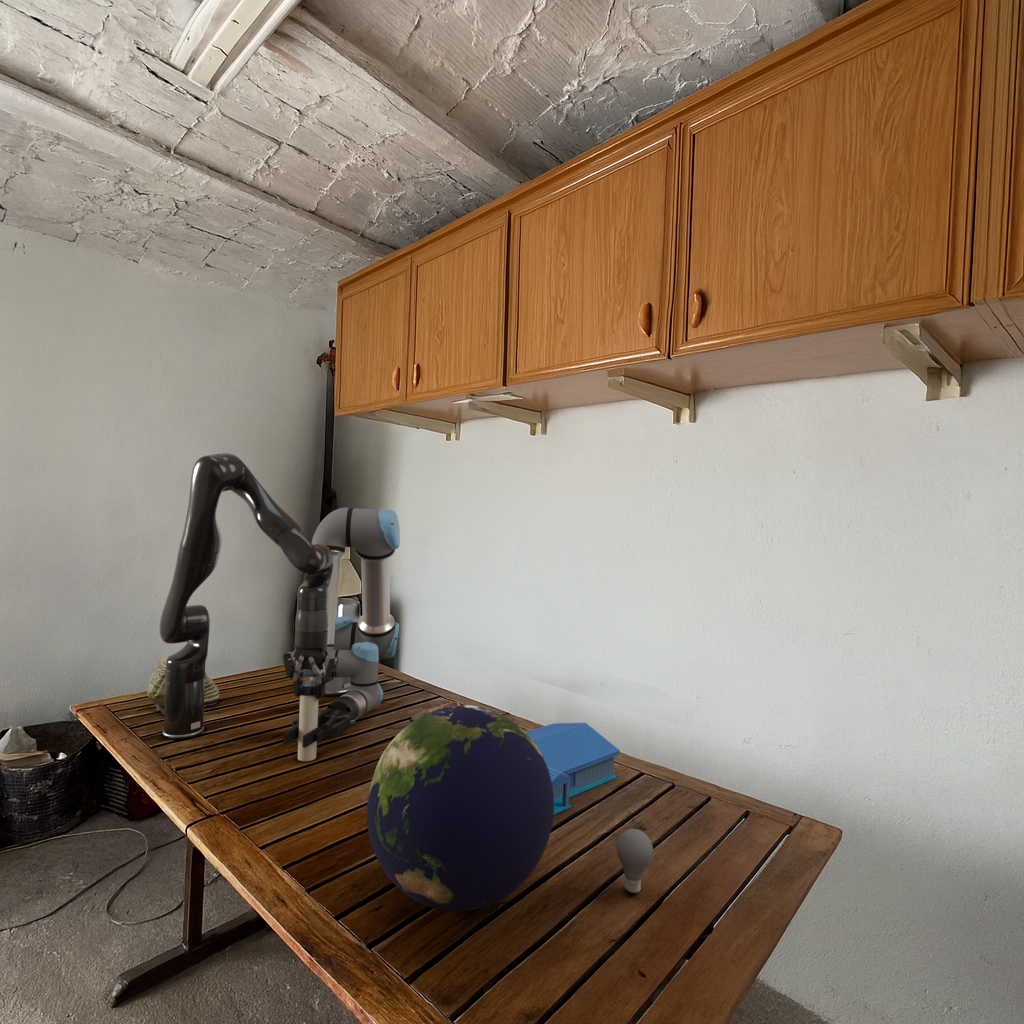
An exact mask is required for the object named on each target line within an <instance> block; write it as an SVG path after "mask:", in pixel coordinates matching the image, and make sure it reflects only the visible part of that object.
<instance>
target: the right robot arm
mask: <svg viewBox="0 0 1024 1024" xmlns="http://www.w3.org/2000/svg"><path fill="white" fill-rule="evenodd" d="M400 530H401V529H400V522H399V517H398V515H397V513H396V511H395V510H392V509H383V508H359V507H340V508H338V509H334V510H333V511H331V512H330V513H328V514H327V515H325V517H324V518H323V519H322V521H320V523H319V525H318V526H317V527H316V530H315V531H314V534H313V536H312V539H311V544H313V545H314V544H324V545H326V546H328V547H329V548H330V550H331V551H332V554H333V560H334V564H333V571H332V576H331V581H330V584H329V588H328V641H327V648H326V650H327V653H328V655H329V656H332V657H336V656H337V657H338V658H339V660H338V664H337V668H336V671H335V675H334V679H333V680H331V681H329V682H327V683H326V687H325V696H324V697H337V698H335V699H333V700H332V701H330V702H329V704H328V705H327V707H326V708H325V709H322V710H320V711H318V727H317V728H315V729H314V730H312V731H310V732H309V733H307V734H305V735H304V736H303V748H306V747H307V746H309V745H311V744H312V743H314V742H315V741H317V742H318V741H320V740H321V739H323V738H324V739H325V738H327V737H329V738H331V739H334V738H336V737H337V736H339V735H340V734H342V733H344V732H345V731H347V730H348V729H350V728H354V727H356V725H357V724H356V723H357V721H356V720H357V719H359V718H361V717H363V716H364V715H366V714H367V713H369V712H371V711H373V710H374V709H375V708H377V706H379V705H380V704H381V703H382V701H383V699H384V691H383V689H382V686H381V684H379V682H378V680H379V679H378V677H379V662H380V660H384V659H385V660H386V659H392V658H394V656H395V654H396V649H397V645H398V637H399V631H400V630H399V629H400V624H399V623H398V622H396V620H395V618H394V616H393V615H392V614H391V557H392V556H393V555H394V554H395V552H396V550H397V549H399V548H400V545H401V534H400ZM346 548H355V554H356V555H357V557H359V558H360V563H361V565H360V567H361V607H362V608H361V609H362V615H361V616H360V617H359V618H358V620H357V621H354V619H353V617H352V616H337V615H338V601H339V590H340V589H339V588H340V575H341V564H342V563H341V560H342V558H343V557H344V556H345V554H346ZM295 664H296V665H295V667H296V666H297V664H298V662H297V661H296V663H295ZM324 666H325V674H326V671H327V667H328V665H327V661H326V660H325V662H324ZM318 670H319V669H318ZM305 677H306V678H309V679H308V681H317V679H316V676H315V675H314V673H313V670H309V669H307V670H306V671H305V673H304V675H303V678H305ZM338 696H339V697H338ZM291 725H292V726H291V728H289V729H288V730H286V731H285V732H283V745H285V746H286V745H288V744H290V743H291V742H294V741H295V740H298V733H299V717H296V718H295V719H294V720H292V722H291Z"/></svg>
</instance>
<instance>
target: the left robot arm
mask: <svg viewBox="0 0 1024 1024" xmlns="http://www.w3.org/2000/svg"><path fill="white" fill-rule="evenodd" d="M228 491H231V492H233V493H234V494H235V495H237V496H238V497H239V498H240V499H242V500H243V501H244V502H245V503H246V504H247V507H248V508H249V509H250V511H251V513H252V516H253V518H254V521H255V523H256V525H257V526H258V528H259V529H260V530H261V532H262V533H263V534H264V535H266V536H267V537H268V539H270V540H271V541H272V542H273V543H274V544H275V545H276V546H277V547H278V548H280V549H281V552H282V553H283V555H284V556H285V557H286V558H287V560H288V561H289V563H290V564H291V565H292V567H294V568H295V569H296V570H297V571H298V572H299V573H301V574H303V575H304V579H303V582H302V584H301V585H300V586H299V588H298V590H297V600H296V601H297V604H296V605H297V606H296V615H295V629H294V647H295V649H294V650H293V651H288V652H285V653H283V654H282V660H283V665H284V671H285V677H286V678H287V679H291V680H292V681H293V695H294V697H297V698H300V694H299V693H298V686H299V683H300V682H303V681H304V679H303V678H304V677H303V675H304V673H305V671H306V670H307V669H309V670H313V673H314V675H315V676H316V679H317V683H318V684H317V685H316V699H318V700H319V701H320V700H322V699H323V698H324V697H326V696H325V687H326V683H327V682H329V681H331V680H333V679H334V675H335V671H336V668H337V664H338V660H339V658H338V657H337V656H336V657H332V656H329V655H328V653H327V650H326V648H327V641H328V588H329V584H330V581H331V576H332V571H333V564H334V560H333V554H332V551H331V550H330V548H329V547H328V546H326V545H324V544H314V545H313V544H312V542H311V541H309V540H308V538H307V537H306V536H305V531H304V528H303V527H302V526H301V524H299V523H298V522H297V521H296V520H295V519H293V517H291V515H290V514H288V513H287V512H286V510H285V509H283V508H282V507H281V506H280V505H279V504H278V503H277V502H276V501H275V500H274V499H273V498H272V496H271V495H270V494H269V493H268V491H266V488H264V487H263V486H262V484H261V483H260V481H258V479H257V478H256V476H254V473H252V471H251V470H250V469H249V468H248V466H247V465H246V464H245V462H243V460H241V458H240V457H239V456H237V455H235V454H233V453H227V452H223V453H222V452H221V453H214V454H206V455H203V456H201V457H199V458H198V459H197V460H196V461H195V463H194V465H193V468H192V471H191V477H190V486H189V495H188V496H189V498H188V505H187V511H186V516H185V521H184V527H183V531H182V536H181V539H180V542H179V547H178V552H177V556H176V562H175V567H174V571H173V577H172V581H171V585H170V588H169V591H168V594H167V596H166V600H165V604H164V606H163V608H162V612H161V616H160V619H159V629H158V630H159V636H160V638H161V641H163V642H164V644H170V645H172V644H183V643H186V644H185V645H184V646H183V647H182V648H181V649H179V650H178V651H176V652H174V653H172V654H169V655H170V656H169V657H168V658H167V660H166V674H165V705H164V708H160V712H161V714H162V715H163V730H162V737H164V738H166V739H169V740H185V739H190V738H191V739H192V738H194V737H197V736H199V735H202V734H203V732H204V730H205V729H204V727H205V725H204V722H205V721H204V718H205V706H204V693H205V672H206V664H207V663H206V662H207V658H208V653H209V642H210V640H209V639H210V631H211V617H210V613H209V610H208V609H207V607H206V606H205V605H203V604H192V605H191V604H190V605H188V603H189V600H191V597H192V595H194V593H195V592H196V591H197V589H198V588H200V586H201V585H202V584H203V583H204V582H205V581H206V580H207V579H208V578H209V577H210V576H211V575H212V574H213V572H214V570H216V567H217V566H218V563H219V562H218V561H219V557H220V554H221V549H222V543H223V539H222V534H221V530H220V527H219V525H218V521H217V511H218V505H219V501H220V497H221V495H222V493H223V492H228ZM295 660H296V663H295ZM325 660H326V661H327V665H328V667H327V671H326V674H325V666H324V662H325ZM297 662H298V664H297ZM295 664H297V666H296V665H295ZM318 669H319V670H318Z"/></svg>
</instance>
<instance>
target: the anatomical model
mask: <svg viewBox="0 0 1024 1024" xmlns="http://www.w3.org/2000/svg"><path fill="white" fill-rule="evenodd" d="M451 706H461V705H460V703H459V702H458V701H452V702H451V701H450V702H447V703H445V704H440V705H438V706H436V707H432V708H429V709H426V710H423V711H419V712H418V713H415V714H414V715H412V716H411V717H410V720H411V721H412V722H413V721H415V720H416V719H418V718H419V717H421V716H423V715H425V714H427V713H430V712H432V711H435V710H438V709H441V708H445V707H451Z"/></svg>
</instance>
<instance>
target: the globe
mask: <svg viewBox="0 0 1024 1024" xmlns="http://www.w3.org/2000/svg"><path fill="white" fill-rule="evenodd" d="M368 788H369V789H368V794H367V801H366V822H367V832H368V836H369V840H370V844H371V847H372V851H373V853H374V855H375V857H376V859H377V861H378V864H379V865H380V867H381V869H382V870H383V872H384V873H385V875H386V876H387V877H388V878H389V880H390V881H391V883H393V884H394V885H395V886H396V887H397V888H398V890H400V891H401V892H402V893H404V894H405V895H406V896H408V897H409V898H410V899H412V900H413V901H415V902H417V903H419V904H421V905H424V906H426V907H428V908H429V907H430V908H431V909H436V910H439V911H445V912H455V913H456V912H471V911H475V910H479V909H483V908H486V907H489V906H491V905H494V904H496V903H499V902H500V901H502V900H503V899H505V898H506V897H508V896H509V895H511V894H512V893H514V892H515V891H516V890H517V889H518V888H519V887H520V886H522V885H523V884H524V882H526V880H527V879H528V878H529V877H530V875H532V873H533V871H534V870H535V869H536V867H537V866H538V864H539V863H540V860H541V859H542V857H543V855H544V853H545V850H546V848H547V846H548V843H549V841H550V837H551V833H552V827H553V823H554V816H555V815H554V794H553V786H552V782H551V777H550V774H549V770H548V767H547V765H546V763H545V760H544V757H543V755H542V753H541V752H540V750H539V748H538V747H537V745H536V744H535V742H534V741H533V740H532V739H531V737H530V736H529V735H528V734H527V733H526V731H525V730H524V729H523V728H522V727H521V726H520V725H518V723H516V722H514V721H513V720H512V719H510V718H508V717H507V716H505V715H503V714H501V713H499V712H497V711H494V710H493V709H489V708H485V707H482V706H477V705H469V704H468V705H467V704H465V705H460V706H451V707H445V708H441V709H438V710H435V711H432V712H430V713H427V714H425V715H423V716H421V717H419V718H418V719H416V720H415V721H413V720H412V721H411V722H409V724H407V725H406V726H405V727H404V728H402V729H401V731H399V733H398V734H396V736H395V737H394V738H393V739H392V740H391V741H390V742H389V743H388V745H387V747H385V749H384V751H382V754H381V755H380V758H379V760H378V762H377V763H376V766H375V769H374V771H373V774H372V777H371V780H370V783H369V787H368Z"/></svg>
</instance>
